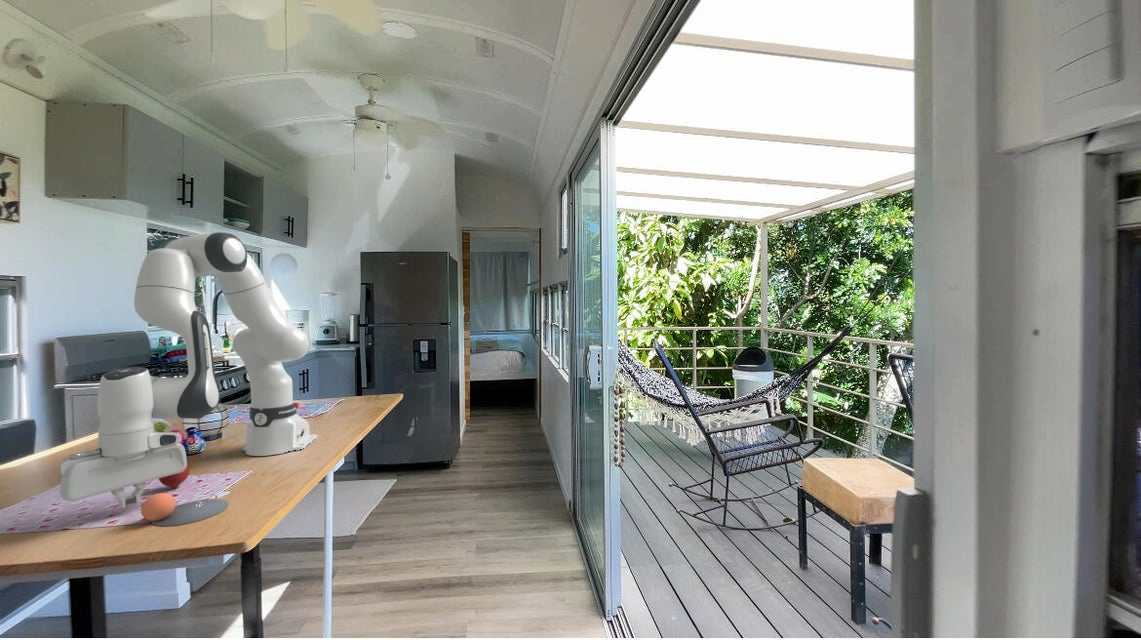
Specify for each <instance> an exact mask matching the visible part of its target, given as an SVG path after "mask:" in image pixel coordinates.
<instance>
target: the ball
mask: <svg viewBox="0 0 1141 640" xmlns="http://www.w3.org/2000/svg"><path fill="white" fill-rule="evenodd" d="M175 506H177V505H176V499H175V497H174V496H173V495H171V494H169V493H165V492H160V493H155V494H153V495H150V496H149V497H148V498H146V499H145V500H144V501H143V503H142V505H141V508H140V514H141V516H142V518H144V519H145V520H147V521H150V522H152V521H159V520H162V519H164V518H166V517H168V516H169V515H170V514H171V513H172V512H173V511H174V509H175Z"/></svg>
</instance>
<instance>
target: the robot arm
mask: <svg viewBox="0 0 1141 640" xmlns="http://www.w3.org/2000/svg"><path fill="white" fill-rule="evenodd" d="M137 275H138V276H137V280H136V286H135V292H134V297H133V298H134V300H133V305H134V311H135V312H136V314H137V315H138V317H140V319H142V320H143V321H144V322H145V323H148V324H150V325H151V326H153V327H156V328H159V329H161V330H166V331H168V332H172V333H175V334H177V335H179V336H180V337H181V338H182V339H183V340H184V343H185V345H186V346H185V347H186V357H187V358H186V359H187V367H188V369H187V370H188V373H187V375H186V376H183V377H181V376H180V377H156V376H152V375H151V374H150V371H149V369H148V368H146V367H142V366H129V367H123V368H116V369H113V370H110V371H108V372H105V373H103V375H102V376H101V378H100V381H99V384H98V389H97V406H96V407H97V408H96V409H97V416H98V417H99V421H100V424H99V428H98V431H97V436H98V437H97V438H98V443H97V444H98V448H95V449H89V450H87V451H86V450H85V451H82V452H76V453H75V452H74V453H72V454H69V456H67V457H65V458H64V459H63V460H61V461H60V463H59V465H58V469H59V470H58V471H59V473H58V474H59V475H60V477H61V480H60V481H61V482H60V487H59V496H60V497H61V498H62V499H63V500H66V501H68V502H75V501H79V500H83V499H86V498H90V497H95V496H98V495H101V494H105V493H108V492H110V493H111V494H112V496H114V497H115V499H117V500H118V508H119V509H125V508H127V507H132V506H134V505H139V504H140V496H141V495H142V494H143V491H144V490H145V488H146V486H147V484H146V483H147V482H149V481H154V480H159V478H162V477H166V476H169V475H173V474H177V473H181V472H183V471H184V470H185V468H186V467H187V465H188V461H187V452H186V449H185V446H184V445H183V444H182V443H181V442H182V434H180V433H178V432H175V431H170V430H169V431H168V430H160V429H156V430H155V423H154V420H163V419H164V420H165V419H166V420H167V419H193V420H194V419H195V420H198V419H203V418H204V417H206V416H207V415H209V414H210V413H211V412H212V411H214V410H215V408H217V406H218V404H219V402H220V391H219V387H218V382H217V378H216V374H215V364H214V353H213V346H212V345H213V344H212V337H211V331H210V325H209V321H208V319H207V317H206V315H205V314H204V313H202V312H200V311H199V310H198V309H197V305H196V302H195V294H196V293H195V291H196V279H197V278H198V277H201V278H202V277H209V276H214V277H215V278H216V279H217V282H218V284H219V287H220V290H221V291H222V293H223V296H224V298H225V300H226V302H227V305H228V306H229V308H230V310H231V312H232V315H233V316H234V317H235V318H236V320H238V321H239V322H241V323H243V324H244V326H246V327H247V328H245V329H242V330H240V331H238V332H237V333H236V335H235V336H234V337H233V341H232V347H233V350H234V352H235V353H236V355H238V356H239V358H240V359H241V361H242V362H243V364H244V367H245V369H246V372H247V376H248V378H249V384H250V400H251V401H250V402H251V406H250V407H249V411H248V412H249V414H248V415H249V419H250V422H249V423H248V424H247V426H246V434H245V435H246V436H245V437H246V438H245V445H244V446H242V451H243V452H245V454H246V455H248V456H250V457H251V456H252V457H254V456H255V457H267V456H273V455H275V456H276V455H281V454H285V452H286V453H288V451H290V452H295V451H294V450H296V451H301V450H300V449H302V450H304V449H305V448H307V447H308V446H309V445H310V444H311V443H313V442H314V441H315V440H316V439H318V438H319V435H318V434H317V433H310V432H311V431H310V424H309V422H308V420H306V419H305V418H303V417H302V416H300V415H299V414H298V412H297V409H300V408H301V406H302V403H301V402H300V401H297V402H296V401H293V400H294V396H293V395H294V394H293V390H294V389H293V387H294V386H293V379H292V377H291V376H290V375H289V374H288V372H286V369H285V368H284V365H283V364H282V363H289V362H293V361H297V360H301V359H303V357H305V355H307V353H308V351H309V348H310V338H309V336H308V335H307V333H305V332H304V331H303V330H301V329H300V328H298V327H297V326H296V325H294V324H293V323H292V321H290V320H289V318H288V317H286V314H284V312H283V311H282V310H281V309H280V307H279V306H278V304H277V303H276V300H275V299H274V297H273V295H272V293H271V290H270V288H269V286H268V284H267V282H266V279H265V278H264V275H263V274H262V272H261V270H260V268H259V266H258V265H257V263H256V262H255V260H254V259H253V257H252V256H251V255H250V254H249V253H248V252H247V248H246V246H245V245H244V242H243V241H241V240H240V238H239V237H237V236H236V235H234V234H232V233H229V232H219V231H217V232H213V233H199V234H193V235H189V236H184V237H181V238H174V239H173V238H172V239H170V240H168V241H165V242H164V243H162V244H161V245H160V246H158V248H156V249H153V250H151V251H149V252H147V254H146V255H145V257H144V260H143V262H142V264H141V265H140V269H139V272H138V274H137ZM153 419H154V420H153ZM314 439H315V440H314ZM313 440H314V441H313ZM312 441H313V442H312ZM309 443H310V444H309ZM308 444H309V445H308ZM307 445H308V446H307ZM306 446H307V447H306ZM303 448H304V449H303ZM131 486H133V488H135V489H134V490H133V492H132V494H131V495H129V496H125V497H124V495H123V494H122V493H125V488H128V487H131Z"/></svg>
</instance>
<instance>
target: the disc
mask: <svg viewBox="0 0 1141 640" xmlns="http://www.w3.org/2000/svg"><path fill="white" fill-rule="evenodd" d="M199 502H201V504H200V503H199ZM202 502H203V503H202ZM196 504H197V505H199V504H200V505H201V506H200V507H199V506H197V507H196ZM202 504H203V505H202ZM228 506H229V502H228V501H227V500H226V499H219V498H210V499H209V498H208V499H200V500H195V501H189V502H185V503H181V504H177V505H175V509H174V511H173V512H172V513H171V514H170V515H169V516H168V517H166V518H164V519H162V520H159V521H151V523H152V525H154V526H158V527H175V526H182V525H189V524H191V523H196V522H199V521H203V520H206V519H210V518H213V517H214V516H216V515H219V514H220V513H222V512H224V511H225V510H226V509H227V508H228Z"/></svg>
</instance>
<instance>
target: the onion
mask: <svg viewBox="0 0 1141 640" xmlns="http://www.w3.org/2000/svg"><path fill="white" fill-rule="evenodd" d="M189 475H190V466H189V465H188V464H187V467H186V468H185V470H184V471H183V472H181V473H177V474H173V475H169V476H166V477H162V478H158V480H159V482H160V483H161V484H162V485H163V486H166V487H168V488H171V489H177V488H178V487H179V486H180V485H181V484H182V483H183V482H185V481H186V479H188V476H189Z"/></svg>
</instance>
